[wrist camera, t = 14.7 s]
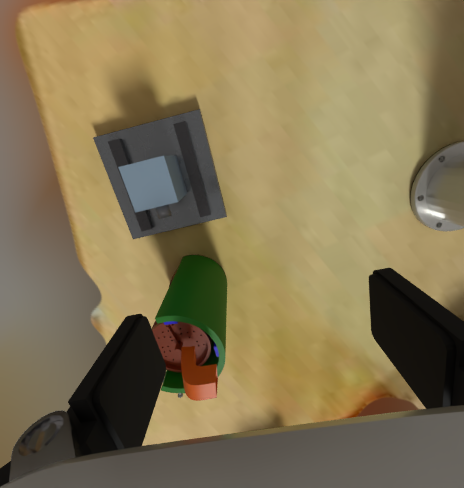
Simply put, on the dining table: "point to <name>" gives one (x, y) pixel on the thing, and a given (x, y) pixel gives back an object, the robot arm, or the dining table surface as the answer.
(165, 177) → the slate grey block
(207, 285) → the motor
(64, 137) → the dining table surface
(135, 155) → the mounting bracket
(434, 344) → the robot arm
